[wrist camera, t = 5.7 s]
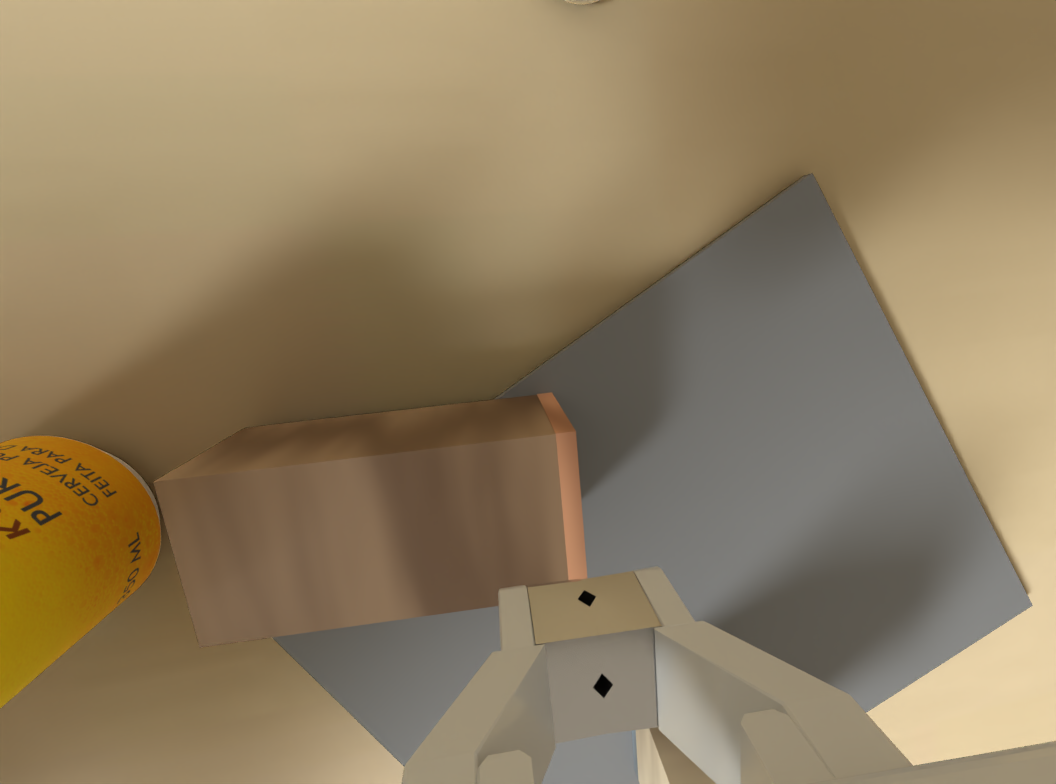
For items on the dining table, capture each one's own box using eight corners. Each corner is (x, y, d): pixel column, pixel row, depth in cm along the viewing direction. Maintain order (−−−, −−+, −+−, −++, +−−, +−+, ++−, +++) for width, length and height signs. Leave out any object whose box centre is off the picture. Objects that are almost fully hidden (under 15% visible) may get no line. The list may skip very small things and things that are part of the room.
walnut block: (575, 431, 12) (152, 481, 11) (588, 594, 13) (199, 648, 12) (551, 392, 16) (245, 426, 16) (562, 516, 17) (274, 553, 17)
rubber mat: (553, 901, 22) (554, 913, 21) (232, 586, 17) (226, 593, 17) (1022, 599, 20) (1032, 605, 20) (804, 175, 16) (812, 173, 16)
